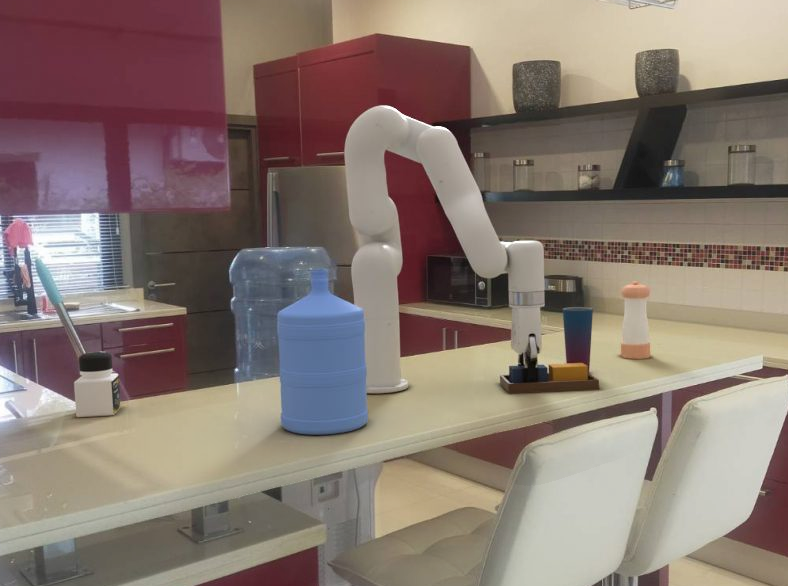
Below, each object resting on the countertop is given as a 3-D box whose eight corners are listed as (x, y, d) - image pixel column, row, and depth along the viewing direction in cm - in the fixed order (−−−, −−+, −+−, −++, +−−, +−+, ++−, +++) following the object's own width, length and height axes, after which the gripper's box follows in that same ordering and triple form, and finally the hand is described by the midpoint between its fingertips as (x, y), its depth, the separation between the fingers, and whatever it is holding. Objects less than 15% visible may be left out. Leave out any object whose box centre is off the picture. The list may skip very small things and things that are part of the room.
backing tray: (508, 393, 179) (508, 384, 179) (500, 383, 189) (499, 374, 189) (599, 389, 181) (599, 380, 180) (585, 380, 191) (585, 371, 190)
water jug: (384, 427, 153) (379, 269, 150) (302, 441, 145) (296, 275, 142) (344, 411, 167) (339, 266, 163) (267, 423, 158) (260, 271, 155)
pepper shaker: (655, 355, 219) (655, 280, 217) (641, 359, 214) (641, 282, 212) (629, 353, 224) (629, 279, 222) (615, 357, 219) (615, 281, 216)
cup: (591, 370, 201) (591, 306, 200) (594, 376, 195) (594, 310, 193) (562, 370, 202) (561, 307, 200) (564, 376, 195) (563, 310, 194)
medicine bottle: (114, 415, 168) (110, 354, 167) (76, 417, 167) (71, 356, 165) (121, 407, 175) (117, 349, 174) (84, 409, 174) (80, 351, 172)
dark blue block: (512, 387, 182) (512, 369, 182) (509, 384, 186) (509, 365, 185) (547, 386, 183) (547, 367, 182) (543, 382, 187) (543, 364, 186)
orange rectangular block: (553, 386, 183) (552, 367, 182) (548, 382, 187) (548, 364, 186) (587, 384, 183) (587, 366, 183) (582, 380, 187) (582, 362, 187)
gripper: (501, 296, 190) (503, 377, 192) (516, 304, 173) (518, 393, 176) (535, 295, 191) (536, 376, 193) (553, 302, 174) (554, 391, 176)
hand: (528, 383), depth 184 cm, fingers open, 4 cm apart
